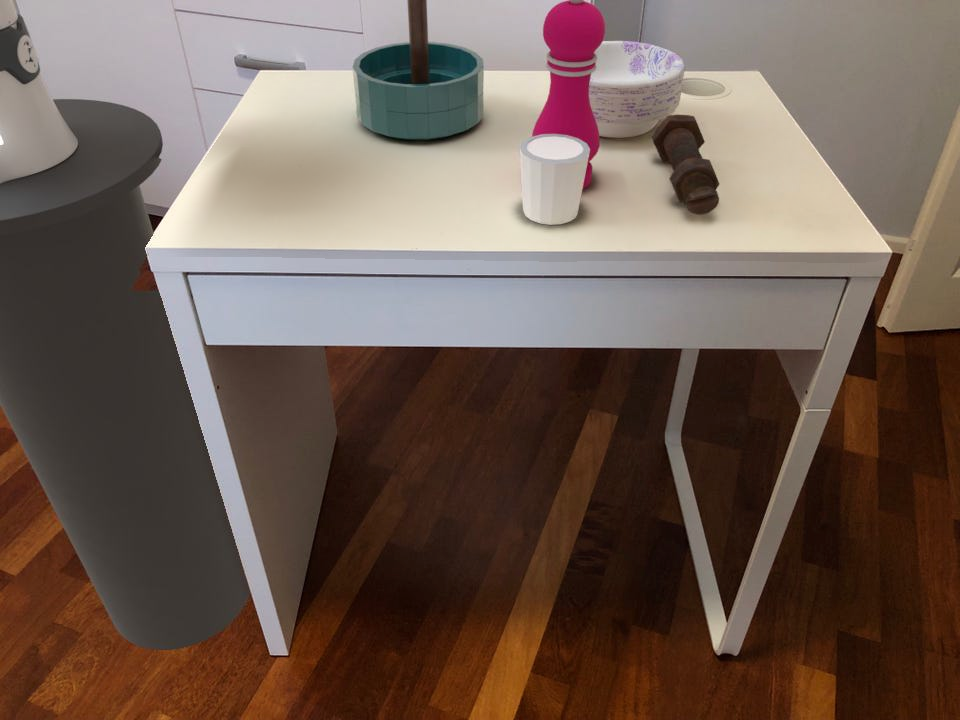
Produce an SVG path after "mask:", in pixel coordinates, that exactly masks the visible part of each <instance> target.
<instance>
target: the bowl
mask: <svg viewBox="0 0 960 720" xmlns="http://www.w3.org/2000/svg"><path fill="white" fill-rule="evenodd" d="M428 51H429V78H430V84H412V80H411V61H410V41H405V42H398V43H390V44H385V45H381V46H378V47H377V46H376V47H374V48H371V49H369V50H367V51H363V52H362V53H361V54H359V56H357V57H356V58H355V59H354V60H353V63H352V76H353V85H354V96H355V97H354V99H355V106H356V116H357V119H358V121H359V122H360V124H361V125H362V126H364V127H365V128H367V129H368V130H370V131H371V132H374V133H377V134H380V135H383V136H387V137H391V138H395V139H400V140H401V139H402V140H410V141H429V140H437V139H443V138H447V137H451V136H453V135H456V134H459V133H462V132H466V131H467V130H470V129H471V128H473V127H474V126H476V125H478V124H479V123H480V121H481V120H482V119H483V117H484V78H485V77H484V73H485V72H484V69H485V68H484V59H483V58H482V57H481V56H480V55H479V54H478V52H476V51H474V50H471V49H469V48H467V47H464V46H461V45H456V44H452V43H445V42H437V41H436V42H435V41H428Z"/></svg>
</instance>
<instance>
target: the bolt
mask: <svg viewBox="0 0 960 720" xmlns="http://www.w3.org/2000/svg"><path fill="white" fill-rule="evenodd" d="M651 140H652V143H653V145H654V147H655V150H656V152H657V154H658V156H659V158H660V160H661V163H670V165H671V167H672V170H673V172H672V174H671V175H670V177H669V181H670V185H671V187H672V188H673V191H674V193H675V195H676V197H677V199H678V201H679V203H681V204H685V206H686V209H687V211H688V212H689V213H691V214H694V215H706V214H709V213H711V212H712V211H714V210H715V209H716V208H717V207H718V205H719V203H720V202H719V201H720V197H719V194H718V191H717V190H718V188H719V186H720V181H719V179H718V176H717V173H716V172H715V169H714V167H713V164H712V162H711V160H710V159H707V158H703V156H702V154H701V152H700V149H701V147H702V146H703V145H704V144H705V142H706V141H705V139H704V137H703V134H702V131H701V129H700V126H699V124H698V121H697V119H696V117H695V116H694V115H689V114H672V115H671V114H669V115H668V116H666V117H664V119H663V120H662V121H661V122H660V123H659V124H658V126H657V127H656V128H655V130H654V131H653V133H652V135H651Z"/></svg>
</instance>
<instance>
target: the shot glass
mask: <svg viewBox="0 0 960 720" xmlns="http://www.w3.org/2000/svg"><path fill="white" fill-rule="evenodd" d="M589 153H590V148H589V146H588V145H587V143H585V142H583V141H582V140H580V139H578V138H575V137H572V136H568V135H561V134H541V135H537V136H533V137H532V136H529V137H528V138H526V139H525V140H523V141H522V142H521V143H520V145H519V163H520V179H521V181H520V182H521V196H522V197H521V198H522V200H521V201H522V211H523V215H524V216H525V217H526V218H527V219H529V220H530V221H531V222H534V223H538V224H540V225H541V224H542V225H549V226H555V225H564V224H566V223H570V222H572V221H573V220H575V219H576V218H577V217H578V213H579V209H580V203H581V198H582V192H583V189H582V188H583V183H584V178H585V173H586V168H587V163H588V158H589Z"/></svg>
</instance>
